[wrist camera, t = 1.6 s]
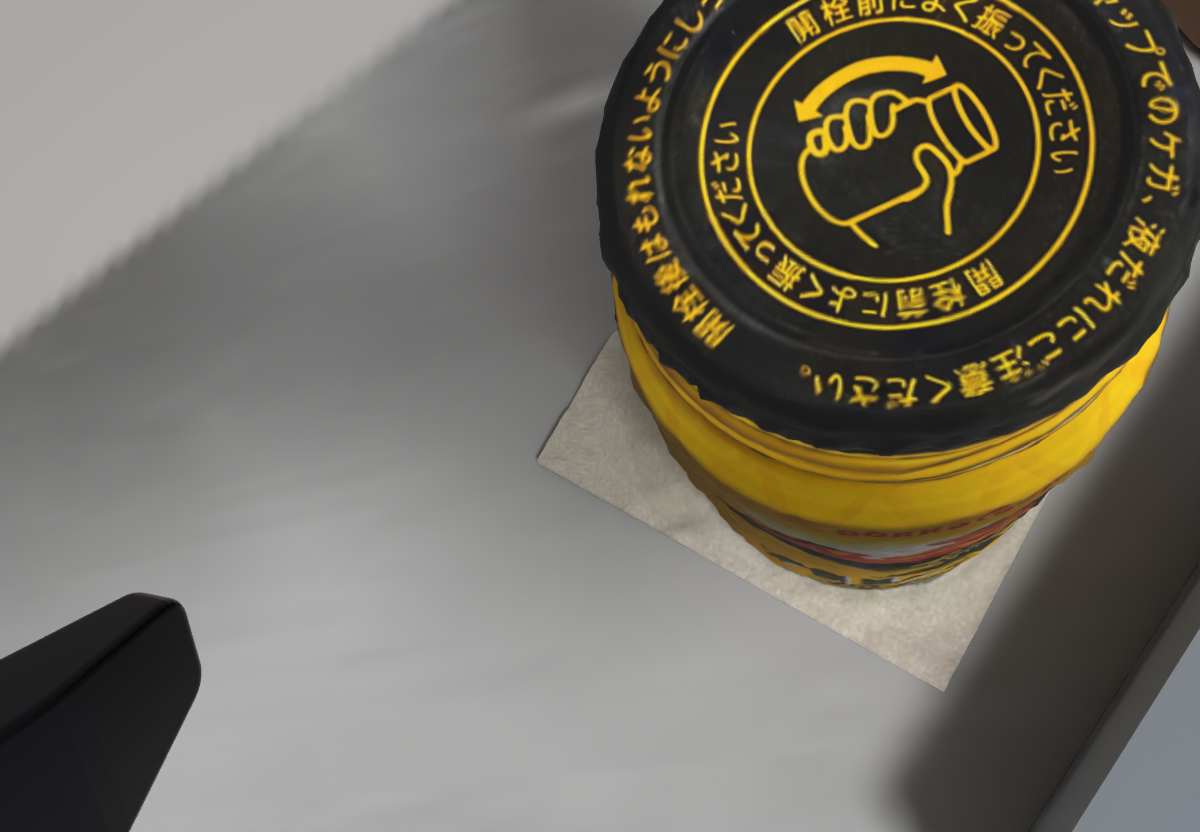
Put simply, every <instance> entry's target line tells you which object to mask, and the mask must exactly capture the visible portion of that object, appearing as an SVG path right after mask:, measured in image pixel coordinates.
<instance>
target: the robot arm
mask: <svg viewBox="0 0 1200 832" xmlns="http://www.w3.org/2000/svg"><path fill="white" fill-rule="evenodd" d="M200 681H201V664H200V660H199V657H198V653H197V650H196V646H195V642H194V639H193V635H192V632H191V628H190V625H189V621H188V618H187V614H186V612H185V609H184V607H183V606H182V605H181V604H180V603H179V602H178V601H177V600H174V599H171V598H166V597H162V596H157V595H152V594H147V593H132V594H128V595H126V596H124V597H122V598H120V599H118V600H116V601H114V602H112V603H110V604H108V605H106V606H104V607H102V608H100V609H98V610H96V611H94V612H92V613H90V614H88V615H86V616H84V617H82V618H80V619H79V620H77V621H75V622H73V623H71V624H69V625H67V626H65V627H63V628H61V629H59V630H57V631H55V632H53V633H51V634H49V635H47V636H45V637H43V638H41V639H39V640H37V641H36V642H34V643H32V644H30V645H28V646H26V647H24V648H22V649H20V650H18V651H16V652H14V653H12V654H10V655H8V656H6V657H4V658H2V659H0V832H129V831H130V829H131V827H132V825H133V823H134V821H135V819H136V817H137V815H138V813H139V811H140V809H141V807H142V805H143V803H144V801H145V799H146V797H147V795H148V793H149V791H150V789H151V787H152V785H153V783H154V781H155V779H156V777H157V775H158V773H159V771H160V769H161V767H162V765H163V763H164V761H165V759H166V757H167V755H168V752H169V750H170V748H171V746H172V744H173V742H174V740H175V738H176V736H177V734H178V732H179V730H180V728H181V726H182V724H183V722H184V720H185V718H186V716H187V714H188V712H189V710H190V708H191V706H192V704H193V702H194V700H195V698H196V695H197V693H198V690H199V686H200Z"/></svg>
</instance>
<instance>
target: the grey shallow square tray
mask: <svg viewBox="0 0 1200 832" xmlns="http://www.w3.org/2000/svg"><path fill="white" fill-rule="evenodd" d="M1029 832H1200V561H1199V563H1198V564H1197V566H1196V568H1195V569H1194V571H1193V572H1192V574H1191V576H1190V577H1189V579H1188V580H1187V582H1186V583H1185V585H1184V587H1183V588H1182V590H1181V591H1180V593H1179V595H1178V596H1177V598H1176V599H1175V601H1174V602H1173V604H1172V606H1171V607H1170V609H1169V610H1168V612H1167V614H1166V615H1165V617H1164V618H1163V620H1162V621H1161V623H1160V625H1159V626H1158V628H1157V629H1156V631H1155V633H1154V634H1153V636H1152V637H1151V639H1150V641H1149V642H1148V644H1147V645H1146V647H1145V648H1144V650H1143V652H1142V653H1141V655H1140V656H1139V658H1138V660H1137V661H1136V663H1135V664H1134V666H1133V667H1132V669H1131V671H1130V672H1129V674H1128V675H1127V677H1126V679H1125V680H1124V682H1123V683H1122V685H1121V686H1120V688H1119V690H1118V691H1117V693H1116V694H1115V696H1114V698H1113V699H1112V701H1111V702H1110V704H1109V705H1108V707H1107V709H1106V710H1105V712H1104V713H1103V715H1102V717H1101V718H1100V720H1099V721H1098V723H1097V724H1096V726H1095V728H1094V729H1093V731H1092V732H1091V734H1090V736H1089V737H1088V739H1087V740H1086V742H1085V744H1084V745H1083V747H1082V748H1081V750H1080V751H1079V753H1078V755H1077V756H1076V758H1075V759H1074V761H1073V763H1072V764H1071V766H1070V767H1069V769H1068V770H1067V772H1066V774H1065V775H1064V777H1063V778H1062V780H1061V782H1060V783H1059V785H1058V786H1057V788H1056V789H1055V791H1054V793H1053V794H1052V796H1051V797H1050V799H1049V801H1048V802H1047V804H1046V805H1045V807H1044V808H1043V810H1042V812H1041V813H1040V815H1039V816H1038V818H1037V820H1036V821H1035V823H1034V824H1033V826H1032V827H1031V829H1030V831H1029Z"/></svg>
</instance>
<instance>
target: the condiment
mask: <svg viewBox="0 0 1200 832" xmlns="http://www.w3.org/2000/svg"><path fill="white" fill-rule="evenodd" d="M595 155H596V160H595V162H596V178H597V206H598V210H599V220H600V232H599V236H600V246H601V251H602V252H601V253H602V259H603V261H604V263H605V264H606V266H607V268H608V269H609V270H610V271H611V276H612V285H613V294H614V303H615V319H616V322H617V330H616V331H615V332H614V333H613V334H612V335H611V336H610V338H609V339H608V341H607V342H606V344H605V346H604V347H603V349H602V350H601V352H600V353H599V355H598V357H597V359H596V361H595V363H594V364H593V365H592V367H591V369H590V370H589V372H588V374H587V375H586V377H585V379H584V381H583V383H582V385H581V387H580V389H579V390H578V392H577V394H576V396H575V398H574V399H573V401H572V403H571V405H570V406H569V408H568V410H567V411H566V412H565V413H564V415H563V416H562V418H561V420H560V422H559V423H558V425H557V427H556V428H555V430H554V432H553V433H552V435H551V437H550V439H549V440H548V442H547V444H546V446H545V447H544V449H543V451H542V452H541V454H540V456H539V458H538V459H537V463H539V464H541V465H543V466H545V467H546V468H548V469H550V470H552V471H553V472H555V473H557V474H559V475H560V476H562V477H564V478H566V479H568V480H569V481H571V482H573V483H575V484H576V485H578V486H580V487H582V488H584V489H585V490H587V491H589V492H591V493H592V494H594V495H596V496H598V497H599V498H601V499H603V500H605V501H606V502H608V503H610V504H612V505H614V506H615V507H617V508H619V509H621V510H623V511H624V512H626V513H628V514H630V515H631V516H633V517H635V518H637V519H639V520H641V521H643V522H645V523H646V524H648V525H650V526H651V527H653V528H654V529H656V530H658V531H660V532H661V533H663V534H665V535H667V536H668V537H670V538H672V539H674V540H676V541H677V542H679V543H681V544H682V545H684V546H686V547H688V548H690V549H691V550H693V551H695V552H697V553H698V554H700V555H702V556H704V557H705V558H707V559H709V560H711V561H712V562H714V563H716V564H718V565H720V566H721V567H723V568H725V569H726V570H728V571H730V572H732V573H734V574H735V575H737V576H739V577H741V578H742V579H744V580H746V581H748V582H749V583H751V584H753V585H755V586H756V587H758V588H760V589H762V590H764V591H765V592H767V593H769V594H771V595H772V596H774V597H776V598H778V599H780V600H781V601H783V602H785V603H787V604H788V605H790V606H792V607H794V608H795V609H797V610H799V611H801V612H802V613H804V614H806V615H808V616H810V617H811V618H813V619H815V620H817V621H818V622H820V623H822V624H824V625H825V626H827V627H829V628H831V629H833V630H834V631H836V632H838V633H840V634H841V635H843V636H845V637H847V638H848V639H850V640H852V641H854V642H856V643H857V644H859V645H861V646H863V647H864V648H866V649H868V650H870V651H872V652H873V653H875V654H877V655H879V656H880V657H882V658H884V659H886V660H887V661H889V662H891V663H893V664H894V665H896V666H898V667H900V668H902V669H903V670H905V671H907V672H909V673H910V674H912V675H914V676H916V677H918V678H919V679H921V680H923V681H925V682H926V683H928V684H930V685H932V686H934V687H936V688H937V689H939V690H941V691H943V692H944V691H945V689H946V687H947V685H948V683H949V681H950V679H951V677H952V675H953V673H954V671H955V670H956V668H957V666H958V664H959V662H960V660H961V658H962V657H963V655H964V653H965V651H966V649H967V647H968V645H969V643H970V641H971V640H972V638H973V636H974V634H975V632H976V631H977V629H978V627H979V624H980V622H981V620H982V619H983V617H984V615H985V613H986V611H987V609H988V607H989V606H990V604H991V602H992V600H993V598H994V596H995V594H996V592H997V590H998V588H999V586H1000V584H1001V582H1002V581H1003V579H1004V577H1005V575H1006V573H1007V571H1008V569H1009V567H1010V565H1011V563H1012V562H1013V560H1014V558H1015V556H1016V554H1017V553H1018V551H1019V549H1020V547H1021V545H1022V543H1023V541H1024V539H1025V537H1026V535H1027V534H1028V532H1029V530H1030V528H1031V526H1032V524H1033V522H1034V520H1035V518H1036V516H1037V514H1038V513H1039V511H1040V509H1041V507H1042V505H1043V503H1044V501H1045V500H1046V498H1047V496H1048V494H1049V492H1050V490H1051V489H1052V488H1053V487H1054V486H1055V485H1057V484H1060V483H1062V482H1064V481H1065V480H1066V479H1067V478H1068V477H1069V476H1071V475H1072V474H1073V473H1074V472H1075V471H1076V470H1078V469H1079V468H1081V467H1082V466H1084V465H1086V464H1087V463H1089V461H1090V460H1091V458H1092V457H1093V454H1094V451H1095V449H1096V448H1097V446H1098V445H1099V443H1100V442H1101V440H1102V439H1103V437H1104V436H1105V434H1106V433H1107V432H1108V431H1109V430H1110V429H1111V428H1112V427H1113V426H1114V425H1115V424H1116V423H1117V422H1118V420H1119V419H1120V417H1121V416H1122V414H1123V413H1124V411H1125V410H1126V408H1127V407H1128V405H1129V404H1130V402H1131V401H1132V400H1133V398H1134V397H1135V396H1136V394H1137V393H1138V392H1139V390H1140V389H1141V388H1142V387H1143V386H1144V384H1145V383H1146V381H1147V378H1148V375H1149V372H1150V370H1151V367H1152V365H1153V363H1154V361H1155V359H1156V357H1157V354H1158V351H1159V347H1160V340H1161V336H1162V334H1163V331H1164V328H1165V325H1166V321H1167V318H1168V314H1169V308H1170V303H1171V301H1172V300H1173V298H1174V296H1175V295H1176V294H1177V292H1178V291H1179V290H1180V289H1181V287H1182V286H1183V285H1184V283H1185V282H1186V280H1187V279H1188V277H1189V273H1190V266H1191V261H1192V257H1193V254H1194V251H1195V248H1196V245H1197V243H1198V241H1199V240H1200V89H1199V86H1198V83H1197V81H1196V78H1195V75H1194V71H1193V68H1192V64H1191V62H1190V60H1189V58H1188V56H1187V55H1186V53H1185V51H1184V48H1183V45H1182V41H1181V38H1180V34H1179V29H1178V24H1177V21H1176V18H1175V16H1174V15H1173V13H1172V12H1171V10H1170V9H1169V8H1168V7H1167V6H1166V5H1165V4H1164V3H1163V2H1162V1H1161V0H664V1H663V2H662V4H661V5H660V6H659V7H658V9H657V10H656V11H655V12H654V13H653V14H652V16H651V17H650V18H649V20H648V21H647V23H646V25H645V27H644V28H643V30H642V32H641V34H640V35H639V37H638V39H637V41H636V43H635V44H634V46H633V48H632V49H631V50H630V52H629V53H628V54H627V56H626V57H625V59H624V60H623V63H622V65H621V67H620V69H619V72H618V74H617V76H616V79H615V81H614V84H613V86H612V88H611V91H610V94H609V96H608V99H607V102H606V104H605V107H604V118H603V122H602V126H601V131H600V136H599V140H598V144H597V148H596V151H595Z"/></svg>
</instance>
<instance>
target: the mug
mask: <svg viewBox="0 0 1200 832" xmlns="http://www.w3.org/2000/svg"><path fill="white" fill-rule="evenodd" d="M1161 1H1162V2H1163V3H1164V4H1165V5H1166V6H1167V7H1168V8H1169V9H1170V10H1171V12H1172V13H1173V15H1174V16H1175V18H1176V21H1177V24H1178V27H1179V28H1180V29H1181V30H1182V31H1183V32H1184V34H1185V35H1186V36H1187V37H1188V38H1189V39H1190V40H1191V41H1192V42H1193V43H1194V44H1195V45H1196V46H1197V47H1198V48H1199V49H1200V0H1161Z"/></svg>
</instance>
